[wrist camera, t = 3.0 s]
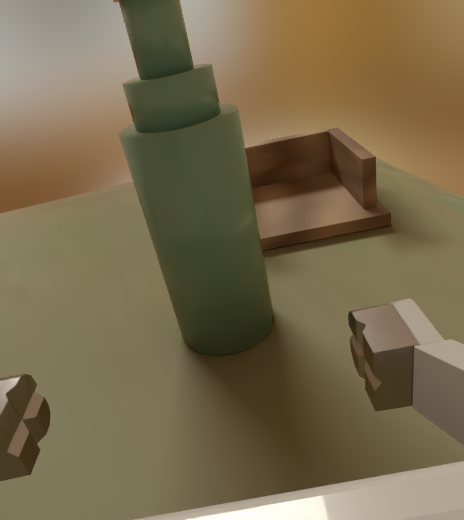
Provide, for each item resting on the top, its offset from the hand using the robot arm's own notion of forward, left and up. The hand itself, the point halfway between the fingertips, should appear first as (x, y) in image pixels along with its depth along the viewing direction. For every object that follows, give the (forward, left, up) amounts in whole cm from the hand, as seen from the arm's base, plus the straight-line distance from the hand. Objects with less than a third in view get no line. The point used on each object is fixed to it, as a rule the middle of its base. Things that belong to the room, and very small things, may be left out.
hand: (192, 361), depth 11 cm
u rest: (+7, +26, -8) cm, 28 cm away
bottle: (0, +12, -8) cm, 15 cm away
